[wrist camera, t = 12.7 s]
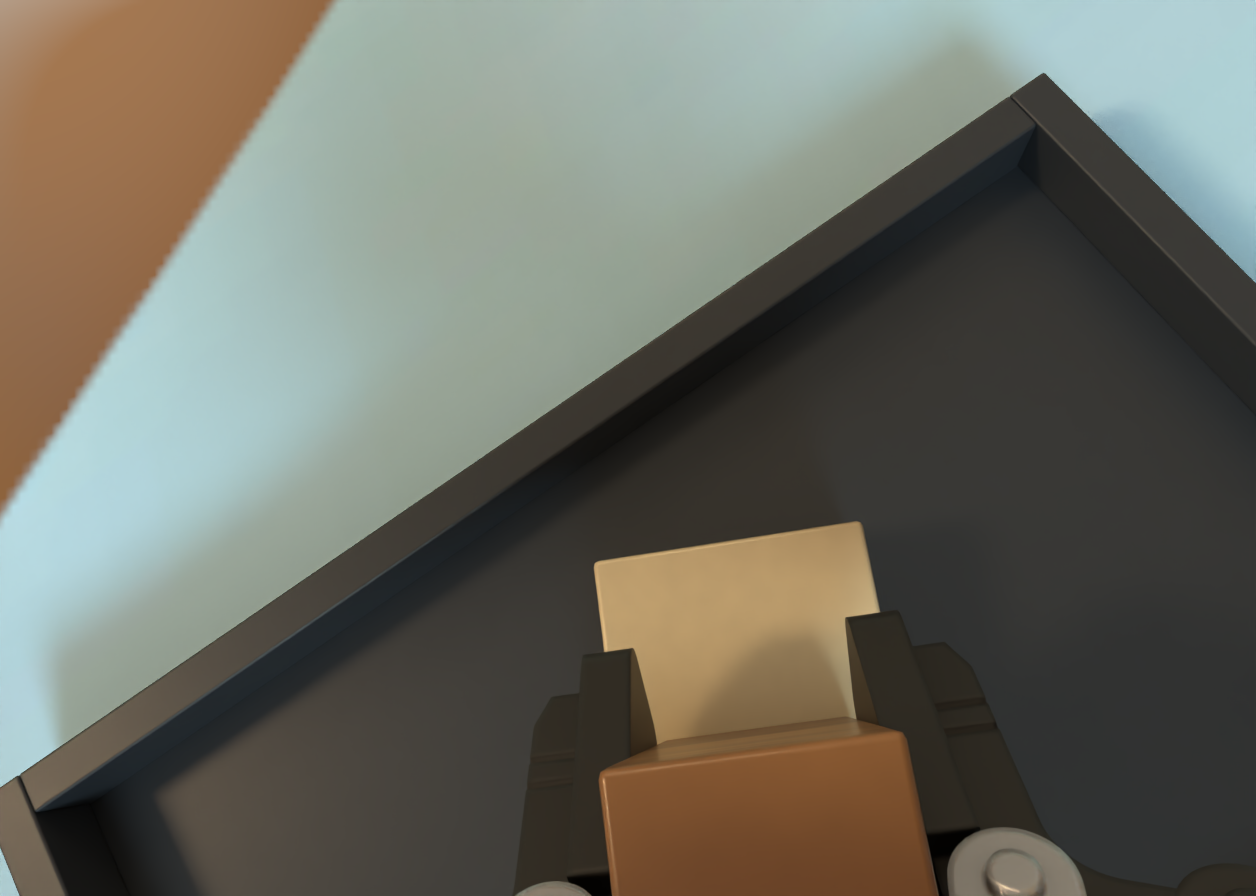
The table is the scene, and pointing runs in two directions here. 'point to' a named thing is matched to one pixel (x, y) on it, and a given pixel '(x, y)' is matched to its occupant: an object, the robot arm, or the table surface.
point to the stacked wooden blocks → (756, 727)
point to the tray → (761, 505)
